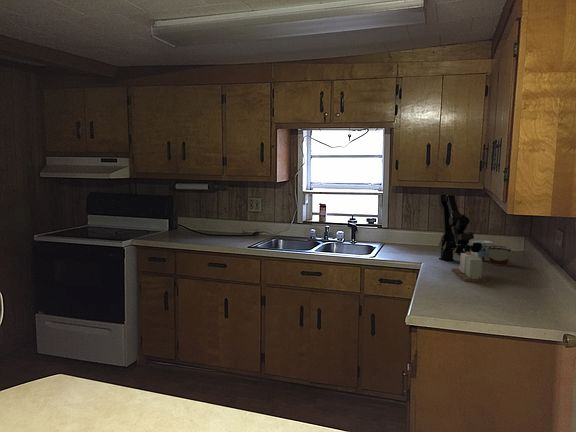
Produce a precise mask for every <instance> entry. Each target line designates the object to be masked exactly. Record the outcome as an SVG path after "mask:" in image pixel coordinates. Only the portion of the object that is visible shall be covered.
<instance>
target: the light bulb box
mask: <svg viewBox="0 0 576 432" xmlns="http://www.w3.org/2000/svg"><path fill="white" fill-rule="evenodd" d="M474 242H479V243H481V244H482V248H481V250H480V252H472V251H471V250H470V252H471V253H472V254H473V255H475V256H476V257H478V258H480V259H482V262H485V261H486V262H487V261H488V262H489V249H488V247H489V246H491V245H495V243H494V242H493V241H491V240H490V241H489V240H472V241H471V245H473V243H474Z"/></svg>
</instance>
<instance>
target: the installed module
mask: <svg viewBox="0 0 576 432" xmlns="http://www.w3.org/2000/svg"><path fill="white" fill-rule="evenodd" d="M482 267H483V261H482V259H480V258H478V257H467V259H466V274H465V275H466V276H468V277H469V278H471V277H479V278H481V276H482V271H483V269H482Z"/></svg>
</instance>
